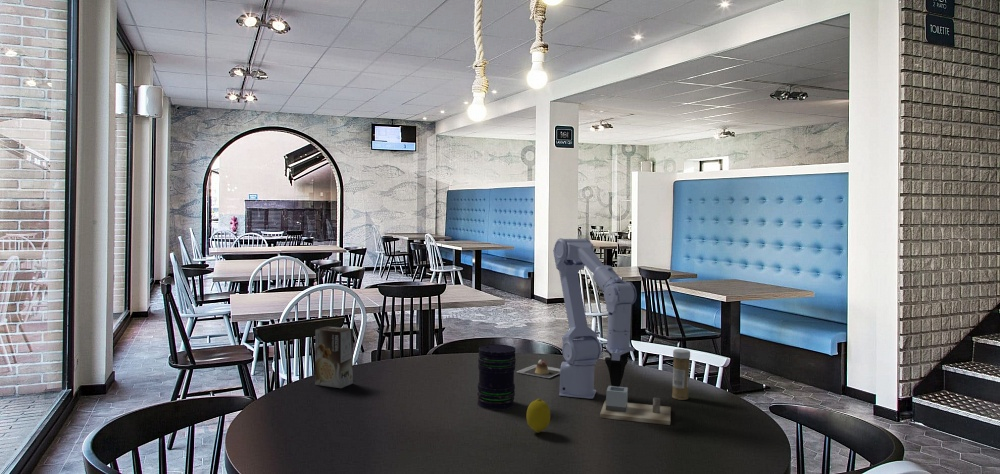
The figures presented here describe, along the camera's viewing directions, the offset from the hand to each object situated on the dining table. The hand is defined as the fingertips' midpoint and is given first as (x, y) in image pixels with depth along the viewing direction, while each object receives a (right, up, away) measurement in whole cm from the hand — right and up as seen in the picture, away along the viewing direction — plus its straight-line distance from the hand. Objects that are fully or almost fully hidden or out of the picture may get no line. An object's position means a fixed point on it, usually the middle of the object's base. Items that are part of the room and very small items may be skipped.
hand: (617, 382), depth 168 cm
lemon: (-21, -8, -17) cm, 28 cm away
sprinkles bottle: (+20, -8, +15) cm, 26 cm away
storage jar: (-31, -7, +4) cm, 32 cm away
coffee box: (-78, -5, +20) cm, 80 cm away
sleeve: (0, -7, 0) cm, 7 cm away
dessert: (-17, -6, +39) cm, 43 cm away
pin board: (+5, -8, -1) cm, 9 cm away
